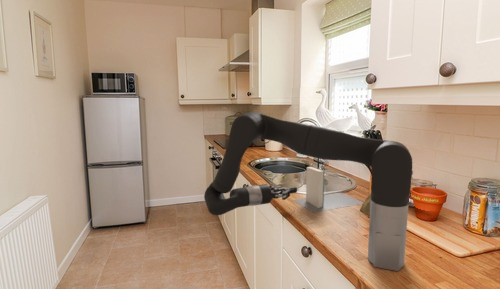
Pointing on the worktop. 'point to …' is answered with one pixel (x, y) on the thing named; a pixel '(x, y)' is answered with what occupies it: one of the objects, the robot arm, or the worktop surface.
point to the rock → (366, 206)
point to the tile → (315, 186)
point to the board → (330, 202)
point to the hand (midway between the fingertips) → (295, 189)
